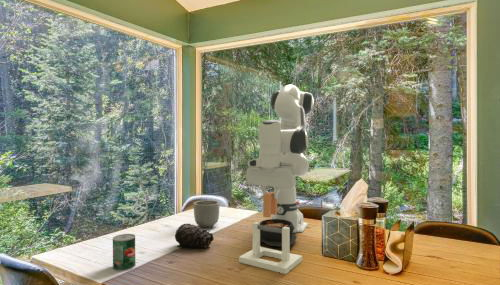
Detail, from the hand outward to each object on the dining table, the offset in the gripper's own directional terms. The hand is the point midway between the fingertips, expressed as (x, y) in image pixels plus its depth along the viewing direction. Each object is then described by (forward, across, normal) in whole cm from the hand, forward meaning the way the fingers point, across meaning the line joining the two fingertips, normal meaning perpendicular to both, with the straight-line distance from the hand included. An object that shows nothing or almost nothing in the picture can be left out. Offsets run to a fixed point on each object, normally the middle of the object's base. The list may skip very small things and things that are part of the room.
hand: (270, 198), depth 120 cm
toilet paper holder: (+24, 0, 0) cm, 25 cm away
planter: (+25, +52, -23) cm, 62 cm away
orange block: (+7, 0, 0) cm, 7 cm away
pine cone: (+25, +36, +3) cm, 44 cm away
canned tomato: (+25, +44, +33) cm, 60 cm away
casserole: (+25, +10, -23) cm, 35 cm away
